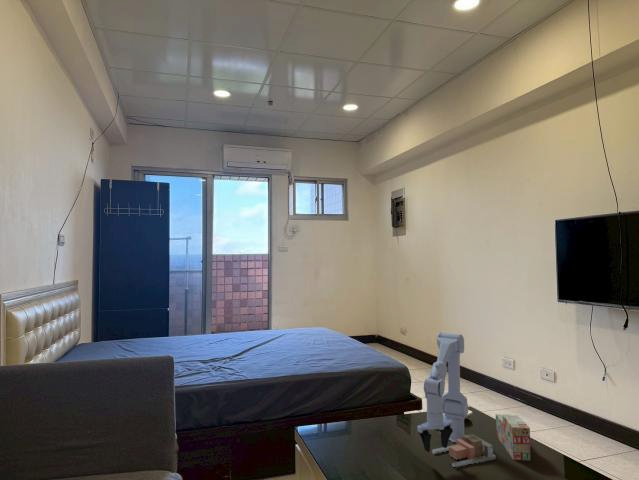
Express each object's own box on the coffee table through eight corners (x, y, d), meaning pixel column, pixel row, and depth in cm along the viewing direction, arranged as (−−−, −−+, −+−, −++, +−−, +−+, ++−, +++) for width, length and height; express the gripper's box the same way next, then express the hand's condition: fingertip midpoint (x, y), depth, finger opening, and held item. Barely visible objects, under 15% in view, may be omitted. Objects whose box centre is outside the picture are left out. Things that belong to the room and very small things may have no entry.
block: (462, 451, 159) (462, 435, 159) (471, 449, 160) (470, 434, 160) (473, 458, 153) (473, 442, 153) (482, 456, 155) (481, 440, 155)
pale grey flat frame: (432, 452, 158) (431, 440, 158) (471, 444, 165) (470, 433, 165) (454, 468, 146) (454, 455, 146) (495, 458, 152) (495, 446, 153)
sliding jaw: (445, 453, 157) (445, 441, 157) (461, 449, 160) (460, 438, 160) (459, 462, 149) (459, 450, 150) (475, 458, 152) (475, 447, 152)
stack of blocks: (496, 436, 173) (495, 406, 173) (511, 436, 172) (510, 407, 172) (513, 460, 151) (512, 426, 152) (531, 461, 151) (530, 427, 151)
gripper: (425, 418, 145) (426, 457, 144) (457, 412, 150) (458, 449, 150) (413, 411, 152) (414, 448, 151) (445, 406, 157) (446, 442, 156)
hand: (435, 448), depth 151 cm, fingers open, 7 cm apart
